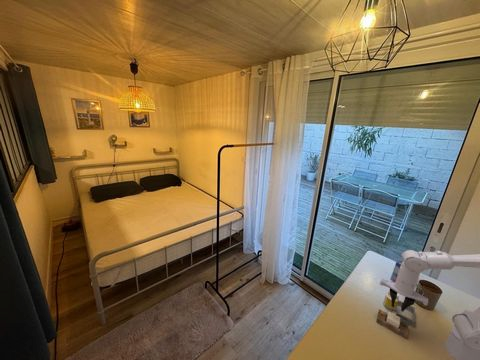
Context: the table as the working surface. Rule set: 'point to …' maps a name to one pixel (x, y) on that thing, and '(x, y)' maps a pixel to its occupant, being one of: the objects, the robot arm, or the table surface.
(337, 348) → the table surface
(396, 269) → the ink cartridge box
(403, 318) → the lockout bracket
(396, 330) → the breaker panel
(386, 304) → the supplement bottle
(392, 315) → the button
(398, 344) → the table surface
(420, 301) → the robot arm
